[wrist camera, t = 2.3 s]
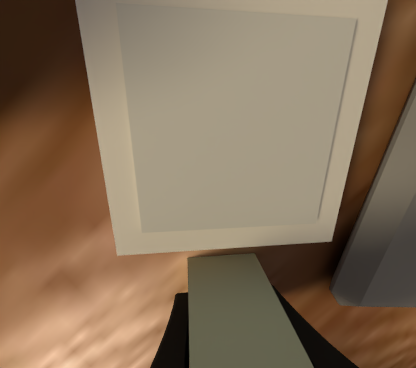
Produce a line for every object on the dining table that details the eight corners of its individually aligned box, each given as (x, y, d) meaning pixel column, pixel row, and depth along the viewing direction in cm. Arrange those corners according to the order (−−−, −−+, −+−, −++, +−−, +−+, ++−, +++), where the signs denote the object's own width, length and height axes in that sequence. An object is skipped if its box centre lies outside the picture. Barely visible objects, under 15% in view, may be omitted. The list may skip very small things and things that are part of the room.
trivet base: (307, 221, 12) (335, 244, 9) (129, 230, 10) (115, 259, 8) (345, 11, 8) (400, -26, 6) (97, -7, 7) (61, -57, 5)
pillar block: (249, 303, 13) (299, 444, 7) (189, 309, 13) (192, 463, 7) (254, 253, 12) (317, 375, 6) (187, 257, 11) (190, 393, 6)
